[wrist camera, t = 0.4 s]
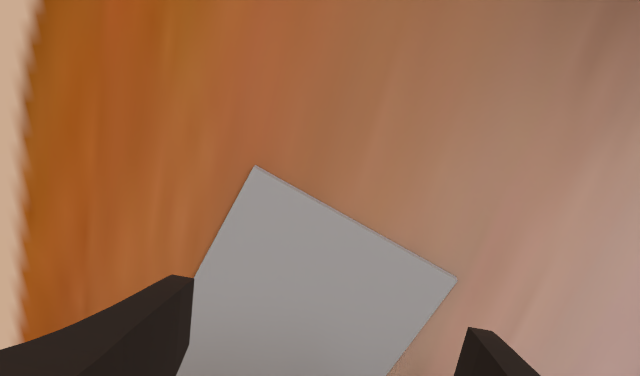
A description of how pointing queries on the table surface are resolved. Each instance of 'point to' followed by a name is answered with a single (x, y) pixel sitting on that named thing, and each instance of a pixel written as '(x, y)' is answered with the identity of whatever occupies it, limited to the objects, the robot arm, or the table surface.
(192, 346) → the mat
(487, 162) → the table surface
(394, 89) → the table surface
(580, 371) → the table surface
